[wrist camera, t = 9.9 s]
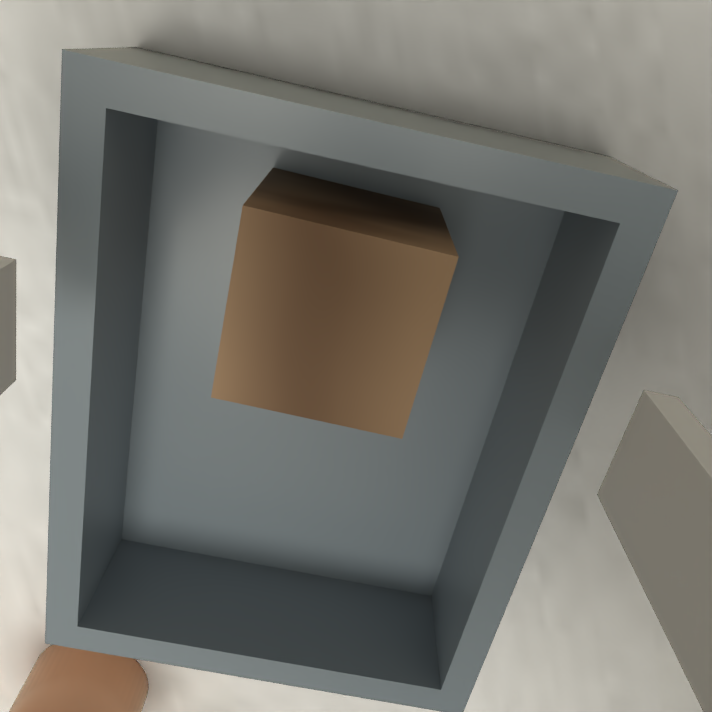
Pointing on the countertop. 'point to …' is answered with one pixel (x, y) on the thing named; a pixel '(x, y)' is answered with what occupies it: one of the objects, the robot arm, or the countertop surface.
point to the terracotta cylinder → (82, 683)
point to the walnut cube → (333, 302)
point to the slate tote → (302, 435)
